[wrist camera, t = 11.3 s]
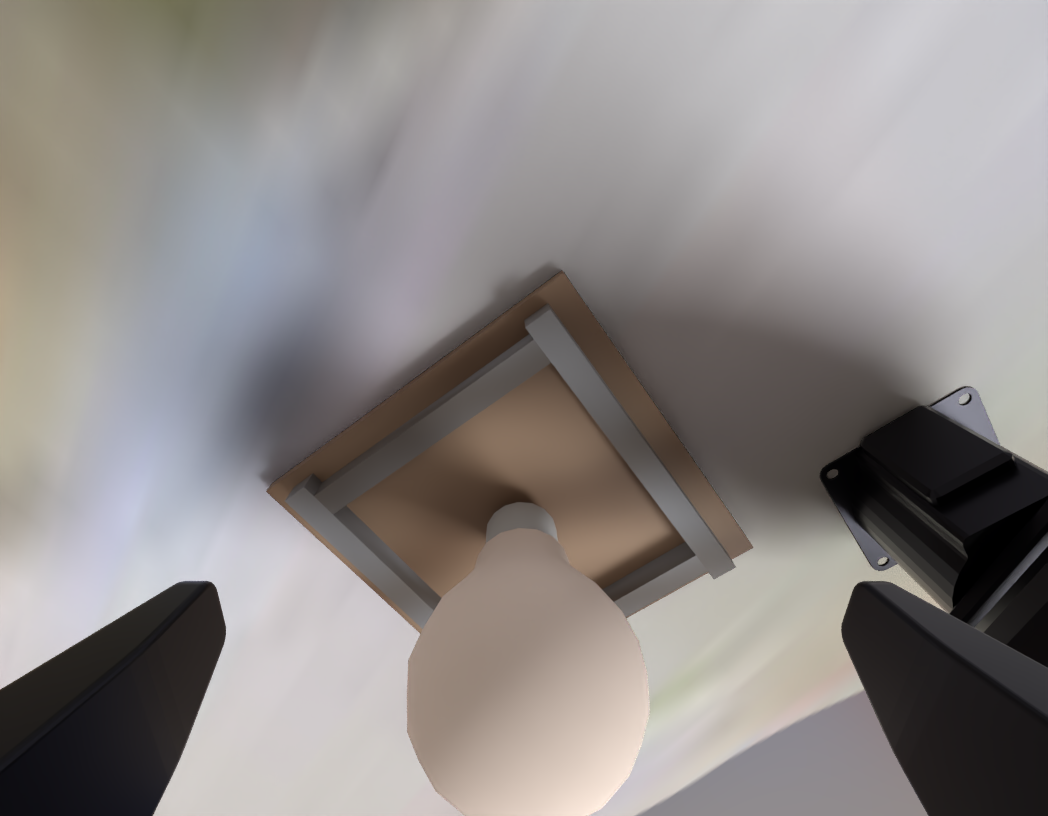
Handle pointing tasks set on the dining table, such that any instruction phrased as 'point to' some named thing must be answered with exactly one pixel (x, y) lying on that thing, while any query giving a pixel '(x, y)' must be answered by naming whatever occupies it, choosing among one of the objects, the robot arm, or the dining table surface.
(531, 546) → the light bulb
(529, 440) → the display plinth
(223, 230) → the dining table surface
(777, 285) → the dining table surface
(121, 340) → the dining table surface
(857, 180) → the dining table surface
